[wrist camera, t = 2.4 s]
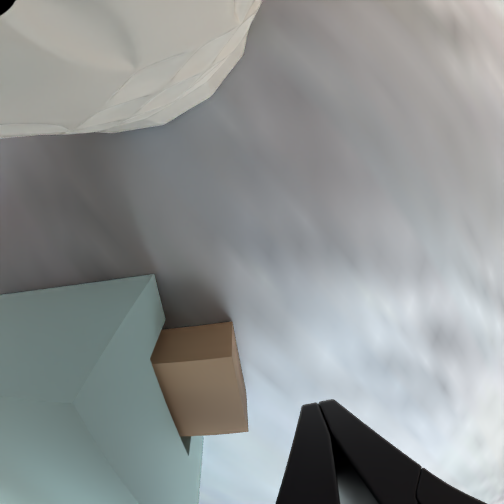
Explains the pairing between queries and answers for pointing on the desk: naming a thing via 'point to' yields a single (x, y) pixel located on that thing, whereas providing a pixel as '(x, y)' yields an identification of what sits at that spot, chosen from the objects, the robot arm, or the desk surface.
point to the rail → (201, 379)
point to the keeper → (89, 400)
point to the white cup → (113, 61)
